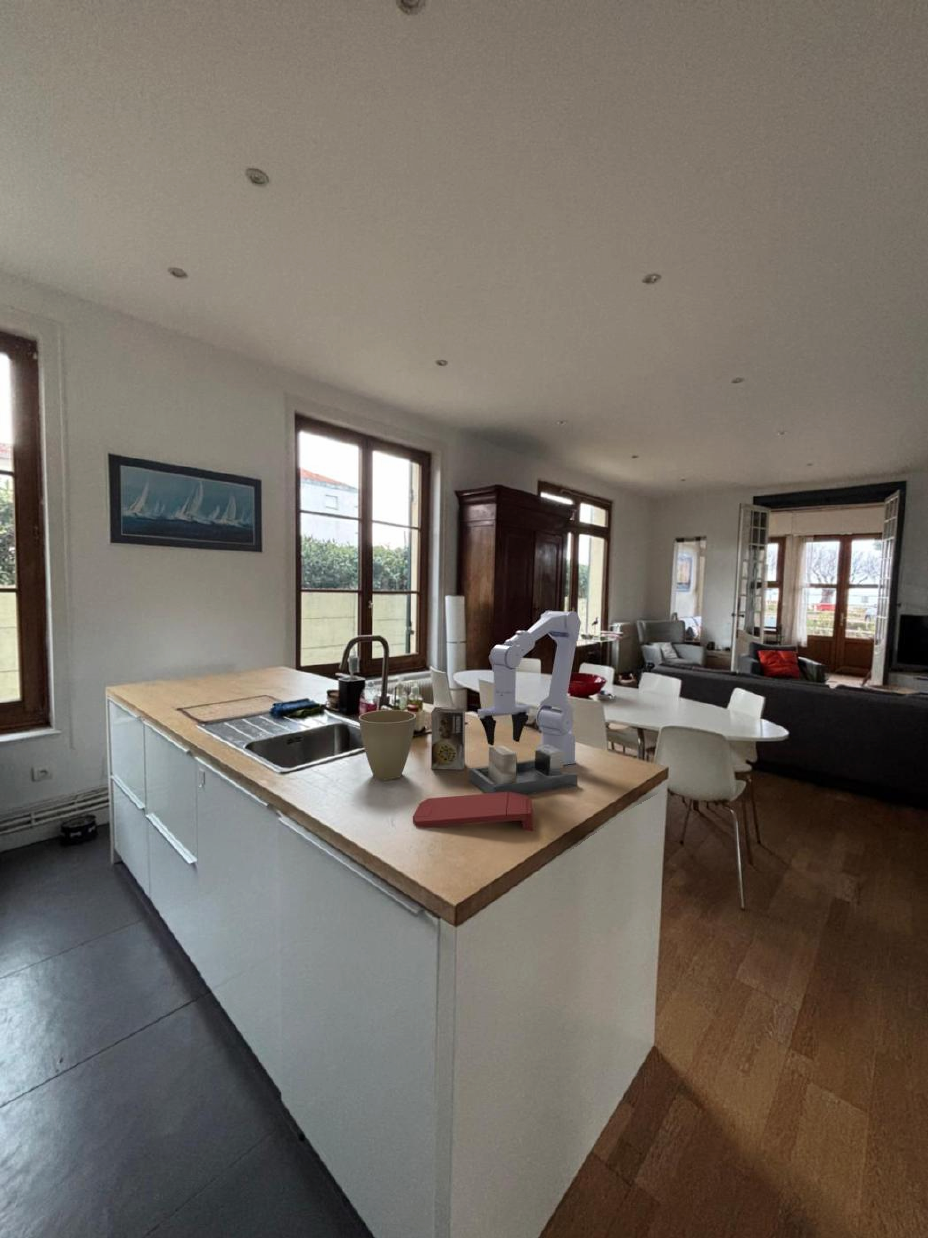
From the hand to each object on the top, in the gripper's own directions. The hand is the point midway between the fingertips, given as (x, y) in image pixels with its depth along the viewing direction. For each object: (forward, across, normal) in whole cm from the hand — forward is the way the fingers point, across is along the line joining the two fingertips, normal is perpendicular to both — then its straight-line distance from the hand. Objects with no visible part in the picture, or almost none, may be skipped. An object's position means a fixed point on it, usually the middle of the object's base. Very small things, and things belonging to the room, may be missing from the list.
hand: (503, 742), depth 131 cm
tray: (+10, -4, +4) cm, 11 cm away
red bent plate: (+10, +17, +18) cm, 27 cm away
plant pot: (+10, +27, -14) cm, 32 cm away
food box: (+10, +9, -15) cm, 20 cm away
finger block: (+9, +2, +4) cm, 10 cm away
